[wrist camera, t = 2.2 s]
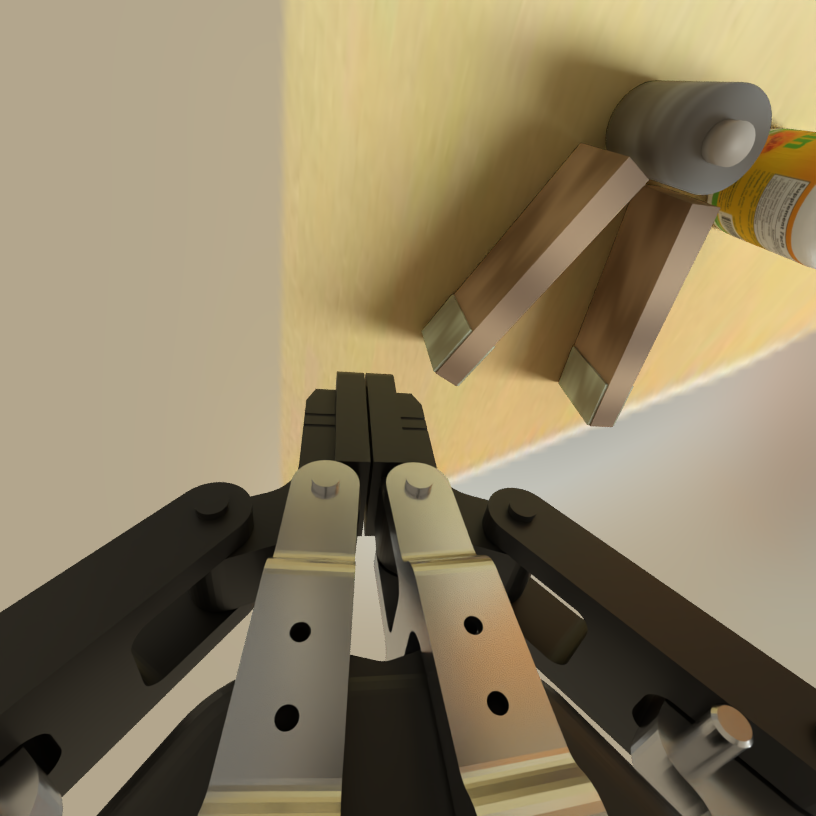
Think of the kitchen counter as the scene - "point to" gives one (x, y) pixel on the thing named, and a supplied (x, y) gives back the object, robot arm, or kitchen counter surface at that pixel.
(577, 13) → the kitchen counter surface
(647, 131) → the tongs frame
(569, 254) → the tong arm
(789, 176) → the supplement bottle
